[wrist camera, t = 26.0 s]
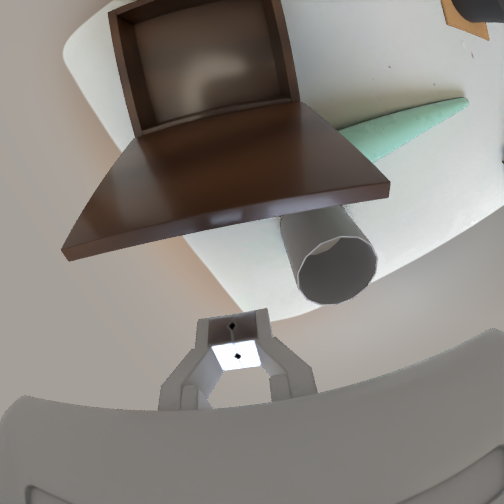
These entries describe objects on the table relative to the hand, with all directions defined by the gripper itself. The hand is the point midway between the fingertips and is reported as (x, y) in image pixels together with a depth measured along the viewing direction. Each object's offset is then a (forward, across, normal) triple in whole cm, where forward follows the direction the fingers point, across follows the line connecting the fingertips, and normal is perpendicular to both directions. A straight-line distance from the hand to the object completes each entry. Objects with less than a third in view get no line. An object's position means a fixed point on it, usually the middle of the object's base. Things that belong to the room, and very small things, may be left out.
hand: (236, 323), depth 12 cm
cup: (+22, -8, +8) cm, 25 cm away
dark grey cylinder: (+21, -37, -24) cm, 48 cm away
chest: (+22, 0, -14) cm, 25 cm away
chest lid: (+8, 0, -6) cm, 10 cm away
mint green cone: (+22, -20, -4) cm, 30 cm away
